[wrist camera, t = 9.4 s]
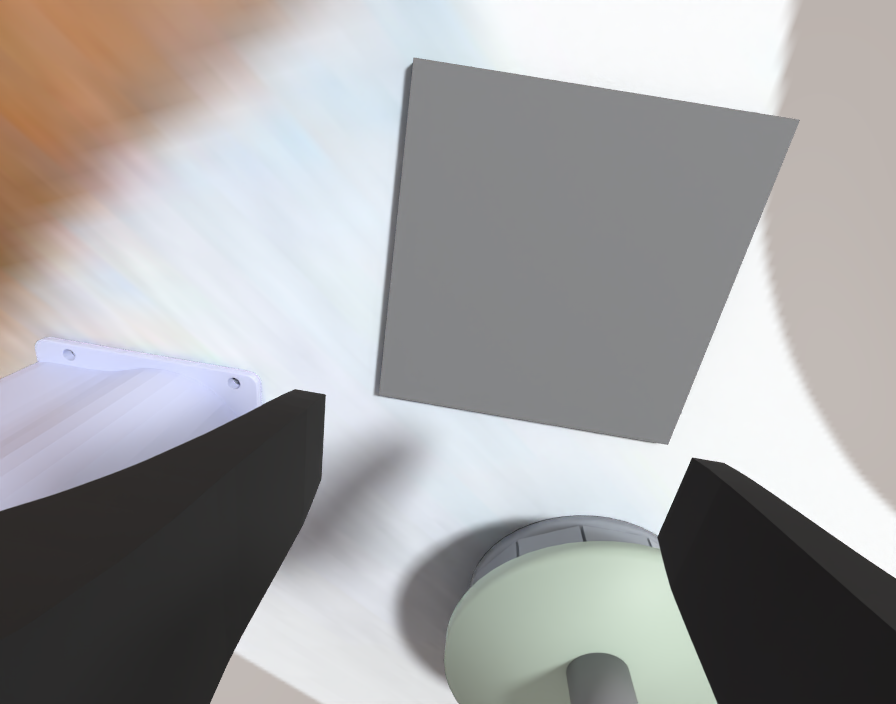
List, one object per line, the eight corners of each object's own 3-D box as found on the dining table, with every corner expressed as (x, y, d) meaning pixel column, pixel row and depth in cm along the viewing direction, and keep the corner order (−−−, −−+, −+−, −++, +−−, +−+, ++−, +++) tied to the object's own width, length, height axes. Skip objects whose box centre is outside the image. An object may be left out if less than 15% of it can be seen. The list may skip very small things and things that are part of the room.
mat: (380, 390, 19) (378, 394, 19) (415, 60, 15) (413, 57, 14) (664, 439, 19) (667, 444, 19) (792, 121, 15) (800, 120, 14)
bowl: (453, 653, 25) (449, 714, 23) (490, 497, 21) (490, 548, 18) (651, 689, 25) (671, 754, 23) (730, 538, 21) (766, 596, 18)
